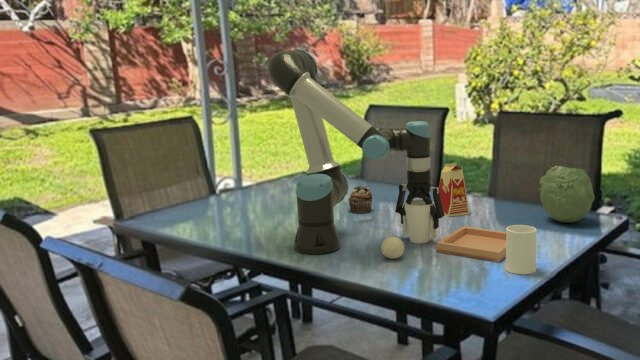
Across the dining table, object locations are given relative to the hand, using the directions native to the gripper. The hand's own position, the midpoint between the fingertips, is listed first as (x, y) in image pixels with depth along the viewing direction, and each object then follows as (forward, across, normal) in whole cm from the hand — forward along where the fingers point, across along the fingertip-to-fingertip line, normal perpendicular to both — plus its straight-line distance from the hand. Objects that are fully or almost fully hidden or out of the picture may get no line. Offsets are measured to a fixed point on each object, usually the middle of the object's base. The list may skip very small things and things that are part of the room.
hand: (419, 235), depth 208 cm
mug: (+2, -38, +9) cm, 39 cm away
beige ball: (+2, -1, +20) cm, 20 cm away
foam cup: (+2, 0, 0) cm, 2 cm away
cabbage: (+2, -35, -42) cm, 55 cm away
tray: (+2, -20, -2) cm, 20 cm away
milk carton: (+2, +5, -36) cm, 36 cm away
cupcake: (+2, +38, -23) cm, 44 cm away
